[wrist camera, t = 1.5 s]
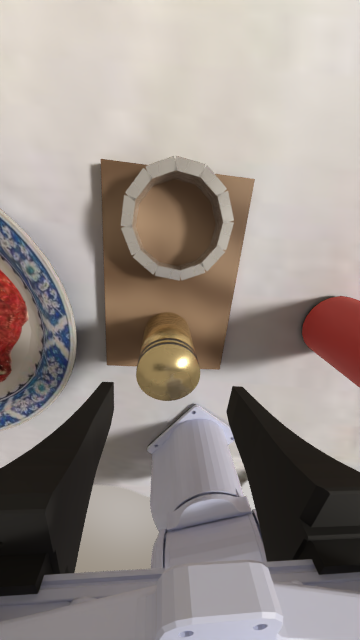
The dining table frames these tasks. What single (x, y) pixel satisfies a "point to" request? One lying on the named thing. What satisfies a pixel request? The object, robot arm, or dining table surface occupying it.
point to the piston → (167, 358)
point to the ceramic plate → (31, 328)
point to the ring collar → (210, 188)
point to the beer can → (336, 334)
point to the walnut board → (168, 262)
